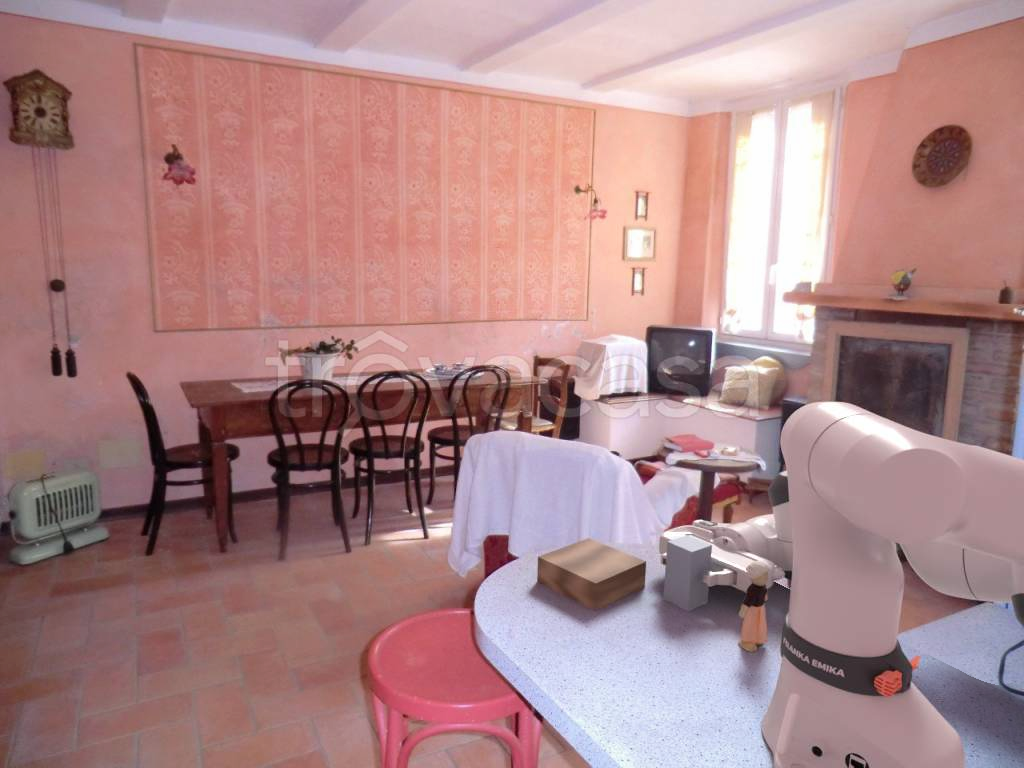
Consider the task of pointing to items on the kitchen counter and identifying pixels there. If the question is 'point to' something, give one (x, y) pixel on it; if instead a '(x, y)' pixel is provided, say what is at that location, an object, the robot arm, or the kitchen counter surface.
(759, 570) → the grandmother figurine
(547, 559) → the walnut block
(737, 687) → the kitchen counter surface
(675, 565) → the slate pillar block
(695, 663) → the kitchen counter surface
